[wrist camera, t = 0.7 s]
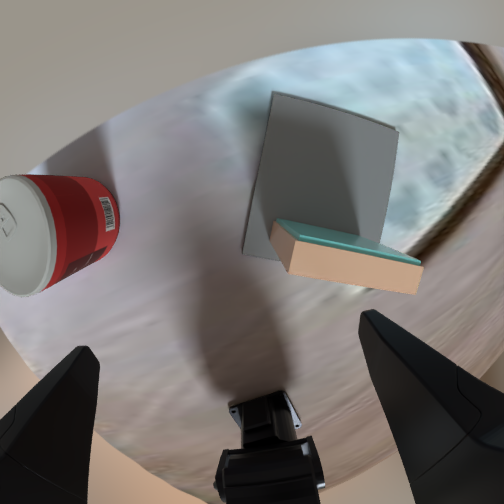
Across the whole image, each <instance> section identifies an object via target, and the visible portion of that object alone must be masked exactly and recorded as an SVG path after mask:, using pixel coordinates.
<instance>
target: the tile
mask: <svg viewBox="0 0 504 504" xmlns="http://www.w3.org/2000/svg"><path fill="white" fill-rule="evenodd" d="M269 241H270V243H271V244H272V246H273V248H274V250H275V252H276V253H277V255H278V257H279V259H280V260H281V262H282V264H283V266H284V267H285V269H286V271H287V273H288V274H292V275H298V276H304V277H309V278H315V279H321V280H327V281H333V282H339V283H345V284H351V285H357V286H363V287H369V288H376V289H382V290H388V291H394V292H401V293H407V294H414V295H416V292H417V289H418V286H419V282H420V279H421V276H422V272H423V269H424V267H422V266H420V263H421V261H420V260H418V259H415V258H413V257H411V256H408V255H406V254H404V253H401V252H399V251H396V250H394V249H392V248H389V247H387V246H384V245H382V244H379V243H377V242H374V241H372V240H369V239H367V238H364V237H362V236H359V235H354V234H350V233H345V232H341V231H336V230H332V229H327V228H323V227H318V226H313V225H309V224H304V223H299V222H294V221H290V220H285V219H280V218H277V220H276V221H273V226H272V231H271V235H270V240H269Z"/></svg>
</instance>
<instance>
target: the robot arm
mask: <svg viewBox="0 0 504 504" xmlns="http://www.w3.org/2000/svg"><path fill="white" fill-rule="evenodd" d="M358 334H359V339H360V342H361V345H362V349H363V352H364V356H365V359H366V363H367V366H368V370H369V373H370V377H371V380H372V382H373V385H374V387H375V390H376V392H377V395H378V397H379V400H380V402H381V405H382V408H383V410H384V413H385V415H386V418H387V421H388V423H389V426H390V429H391V431H392V434H393V437H394V440H395V442H396V445H397V448H398V451H399V454H400V456H401V459H402V462H403V465H404V468H405V471H406V474H407V477H408V480H409V483H410V487H411V490H412V494H413V496H414V500H415V503H416V504H504V393H502V392H500V391H498V390H497V389H495V388H493V387H491V386H489V385H488V384H486V383H484V382H482V381H481V380H479V379H478V378H476V377H474V376H473V375H471V374H470V373H468V372H467V371H465V370H464V369H462V368H461V367H460V366H457V365H456V364H455V363H454V362H452V361H451V360H449V359H448V358H446V357H445V356H443V355H442V354H440V353H439V352H438V351H436V350H435V349H433V348H432V347H430V346H429V345H427V344H426V343H424V342H423V341H421V340H420V339H418V338H417V337H415V336H414V335H412V334H411V333H409V332H408V331H406V330H405V329H403V328H402V327H400V326H399V325H397V324H396V323H394V322H393V321H391V320H390V319H388V318H387V317H385V316H384V315H382V314H381V313H379V312H378V311H376V310H374V309H371V310H366V311H363V312H361V315H360V322H359V329H358ZM99 372H100V364H99V361H98V359H97V358H96V356H95V355H94V354H93V352H92V351H91V349H90V348H89V347H88V346H77V347H76V348H75V349H74V350H73V351H71V352H70V353H69V354H68V355H67V356H66V357H65V358H64V359H63V360H62V361H61V362H60V363H58V364H57V365H56V366H55V367H54V368H53V369H52V370H51V371H50V372H49V373H48V374H47V375H46V376H45V377H44V378H43V379H41V380H40V381H39V382H38V384H36V385H35V386H34V387H33V388H32V389H31V390H30V391H29V392H28V393H27V394H26V395H25V396H24V397H23V398H22V399H21V400H20V401H19V402H18V403H17V404H16V405H15V406H14V407H13V408H12V409H11V410H10V411H9V412H8V413H7V414H6V415H5V416H4V417H3V418H2V419H0V504H87V497H88V496H87V494H88V476H89V463H90V453H91V443H92V434H93V427H94V420H95V414H96V407H97V396H98V383H99ZM280 395H282V396H280ZM232 410H235V411H232ZM229 413H230V414H231V416H232V417H233V419H234V420H235V422H236V423H237V424H238V426H239V427H240V428H241V449H234V450H229V449H225V450H223V452H222V455H221V457H220V461H219V465H218V468H217V472H216V476H215V482H214V483H213V486H214V488H215V489H216V490H217V491H218V492H219V496H220V498H221V500H222V501H223V502H224V503H226V504H320V500H319V494H318V490H319V489H323V488H325V481H324V475H323V470H322V466H321V462H320V458H319V455H318V452H317V450H316V447H315V444H314V441H313V438H312V436H308V437H306V438H303V439H298V440H297V436H296V431H295V429H298V428H300V427H301V426H302V425H301V421H300V420H299V418H298V416H297V414H296V412H295V410H294V408H293V406H292V404H291V402H290V400H289V398H288V396H287V394H286V393H285V391H278V392H275V393H272V394H269V395H266V396H263V397H260V398H257V399H254V400H251V401H248V402H245V403H242V404H238V405H235V406H232V407H230V408H229Z"/></svg>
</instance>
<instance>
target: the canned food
mask: <svg viewBox="0 0 504 504" xmlns="http://www.w3.org/2000/svg"><path fill="white" fill-rule="evenodd" d="M119 226H120V217H119V211H118V207H117V204H116V201H115V200H114V198H113V196H112V194H111V193H110V192H109V191H108V189H107V188H105V187H104V186H103V185H102V184H101V183H99V182H98V181H96V180H94V179H91V178H87V177H73V176H54V175H10V176H5V177H3V178H1V179H0V286H1V287H2V288H4V289H5V290H6V291H7V292H9V293H10V294H12V295H14V296H18V297H29V296H31V295H35V294H37V293H39V292H41V291H43V290H45V289H46V288H49V287H51V286H52V285H54V284H56V283H58V282H59V281H61V280H63V279H65V278H66V277H68V276H70V275H72V274H74V273H75V272H77V271H79V270H81V269H83V268H85V267H86V266H88V265H90V264H92V263H94V262H96V261H98V260H100V259H101V258H103V257H104V256H105V255H106V254H107V253H108V252H109V251H110V250H111V248H112V246H113V245H114V243H115V241H116V239H117V236H118V233H119Z"/></svg>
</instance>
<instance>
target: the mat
mask: <svg viewBox="0 0 504 504" xmlns="http://www.w3.org/2000/svg"><path fill="white" fill-rule="evenodd" d="M398 137H399V132H398V131H395V130H393V129H390V128H388V127H385V126H383V125H380V124H377V123H375V122H372V121H369V120H366V119H363V118H360V117H357V116H354V115H351V114H348V113H345V112H342V111H339V110H335V109H332V108H329V107H325V106H322V105H318V104H314V103H311V102H307V101H303V100H299V99H295V98H291V97H286V96H282V95H277V94H274V96H273V101H272V106H271V111H270V115H269V120H268V125H267V130H266V135H265V140H264V145H263V150H262V155H261V160H260V165H259V170H258V175H257V180H256V185H255V190H254V195H253V200H252V206H251V211H250V216H249V221H248V226H247V231H246V236H245V242H244V247H243V252H242V254H244V255H249V256H254V257H260V258H265V259H271V260H276V261H281V260H280V259H279V257H278V255H277V253H276V252H275V250H274V248H273V246H272V244H271V243H270V241H269V240H270V235H271V231H272V226H273V221H276V220H277V218H280V219H285V220H290V221H294V222H299V223H304V224H309V225H313V226H318V227H323V228H327V229H332V230H336V231H341V232H345V233H350V234H354V235H359V236H362V237H364V238H367V239H369V240H372V241H374V242H377V243H380V239H381V235H382V230H383V226H384V221H385V216H386V212H387V207H388V202H389V196H390V191H391V185H392V179H393V173H394V167H395V160H396V153H397V145H398Z"/></svg>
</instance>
